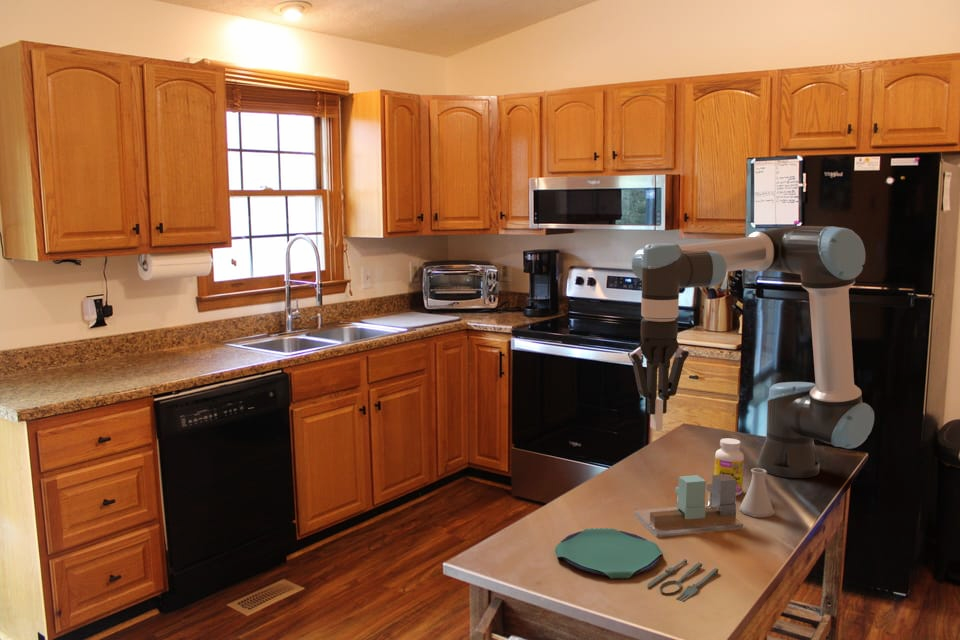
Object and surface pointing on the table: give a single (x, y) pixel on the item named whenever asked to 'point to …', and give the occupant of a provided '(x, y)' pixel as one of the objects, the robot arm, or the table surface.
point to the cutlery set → (621, 557)
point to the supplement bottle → (730, 461)
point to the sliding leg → (691, 496)
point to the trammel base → (684, 528)
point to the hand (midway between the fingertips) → (656, 428)
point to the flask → (757, 496)
